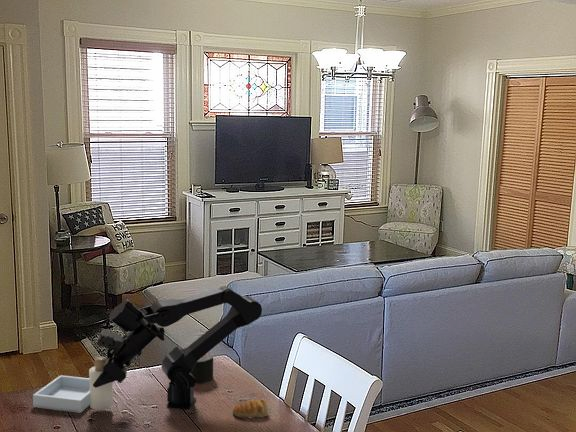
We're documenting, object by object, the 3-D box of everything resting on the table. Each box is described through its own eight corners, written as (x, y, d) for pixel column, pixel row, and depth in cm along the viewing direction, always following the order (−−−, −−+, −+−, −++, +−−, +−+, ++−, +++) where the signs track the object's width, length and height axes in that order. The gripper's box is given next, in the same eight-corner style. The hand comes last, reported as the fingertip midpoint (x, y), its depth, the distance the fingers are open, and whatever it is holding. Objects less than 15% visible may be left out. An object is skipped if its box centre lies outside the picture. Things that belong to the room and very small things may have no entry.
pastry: (235, 421, 172) (235, 408, 172) (230, 410, 178) (230, 397, 178) (269, 417, 175) (270, 404, 174) (263, 407, 181) (263, 394, 181)
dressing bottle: (117, 401, 177) (116, 355, 175) (106, 410, 171) (105, 363, 169) (96, 398, 178) (95, 353, 176) (85, 408, 173) (84, 361, 171)
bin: (105, 391, 188) (104, 380, 187) (80, 412, 174) (80, 400, 174) (60, 386, 190) (60, 375, 190) (33, 407, 177) (32, 395, 176)
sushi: (179, 378, 198) (179, 354, 197) (199, 370, 205) (199, 346, 203) (198, 386, 193) (198, 360, 192) (218, 377, 200) (218, 352, 199)
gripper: (118, 310, 181) (78, 349, 181) (111, 332, 163) (66, 376, 163) (147, 336, 183) (108, 375, 183) (143, 361, 165) (99, 404, 165)
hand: (95, 381), depth 174 cm, fingers closed on dressing bottle, 6 cm apart
